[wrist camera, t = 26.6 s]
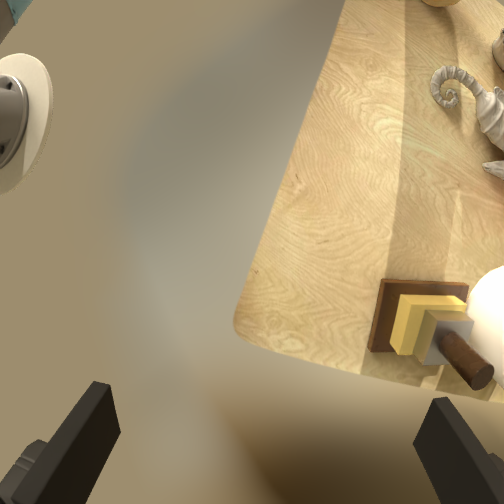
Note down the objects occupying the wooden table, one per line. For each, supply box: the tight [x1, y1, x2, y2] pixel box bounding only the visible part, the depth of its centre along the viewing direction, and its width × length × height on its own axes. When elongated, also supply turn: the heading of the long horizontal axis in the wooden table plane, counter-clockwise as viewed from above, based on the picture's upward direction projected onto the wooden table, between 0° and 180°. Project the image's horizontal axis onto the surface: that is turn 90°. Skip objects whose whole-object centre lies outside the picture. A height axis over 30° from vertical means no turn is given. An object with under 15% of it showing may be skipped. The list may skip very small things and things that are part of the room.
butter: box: [390, 294, 467, 355], centre depth 37 cm, size 9×7×4 cm
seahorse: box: [431, 66, 504, 180], centre depth 32 cm, size 5×12×20 cm
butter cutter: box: [412, 309, 494, 390], centre depth 30 cm, size 6×6×11 cm
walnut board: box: [368, 279, 469, 352], centre depth 40 cm, size 14×10×2 cm
